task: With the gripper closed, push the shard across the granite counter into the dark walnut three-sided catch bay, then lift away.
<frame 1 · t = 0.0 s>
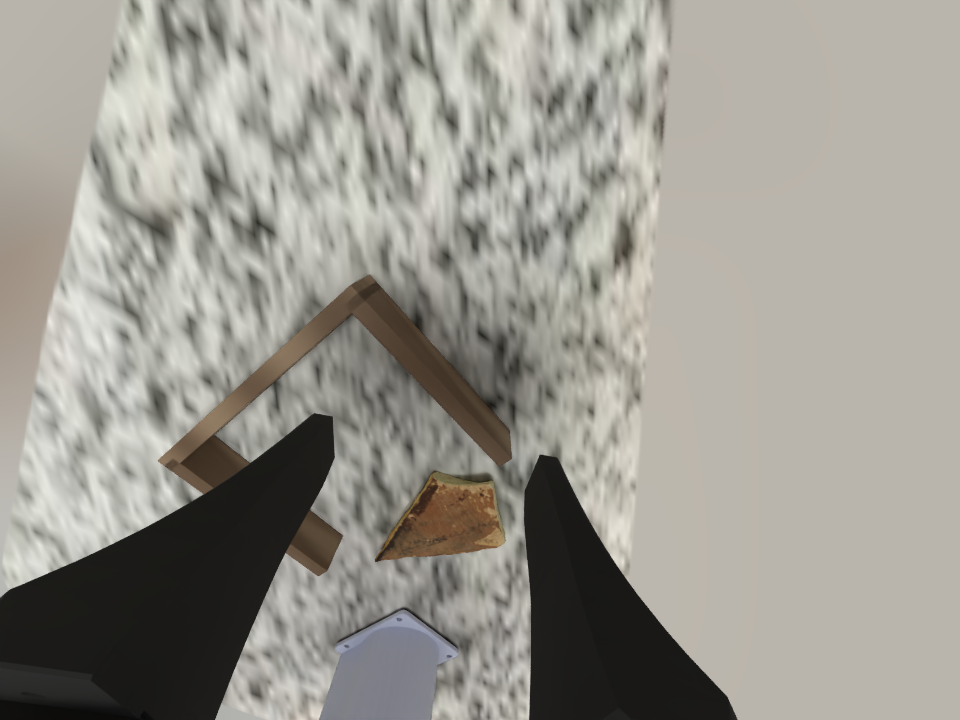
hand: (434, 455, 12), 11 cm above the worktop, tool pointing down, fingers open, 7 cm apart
shard: (453, 518, 29), on the worktop
catch bay: (351, 434, 25), on the worktop
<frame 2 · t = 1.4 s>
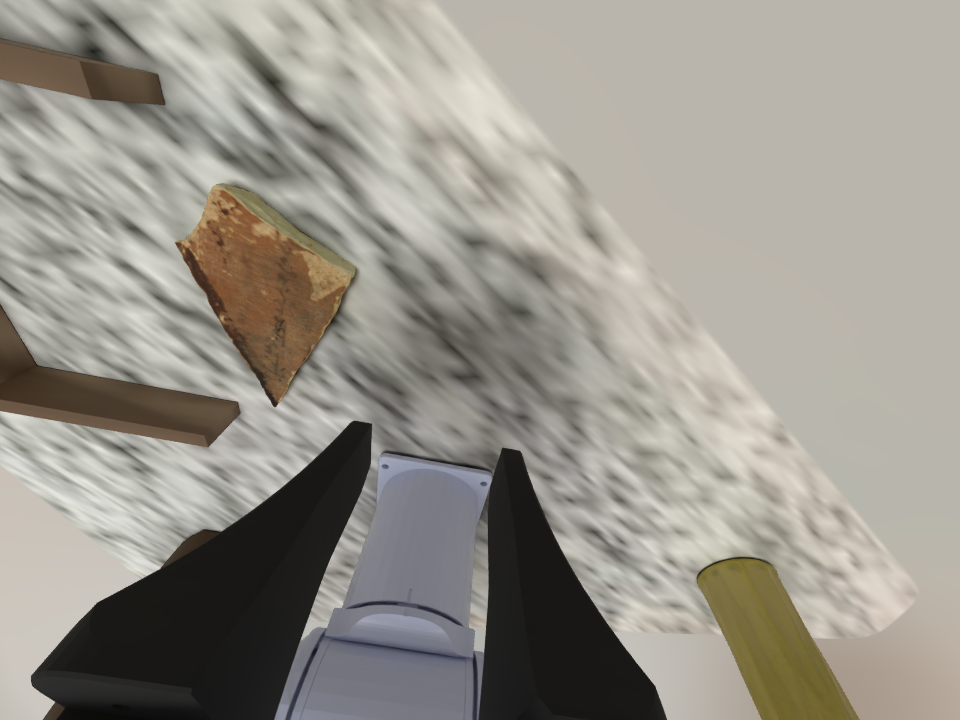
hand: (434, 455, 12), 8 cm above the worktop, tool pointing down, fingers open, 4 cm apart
shard: (302, 299, 20), on the worktop
olive green rod: (732, 573, 31), on the worktop
beer bottle: (229, 549, 34), on the worktop
catch bay: (81, 262, 18), on the worktop
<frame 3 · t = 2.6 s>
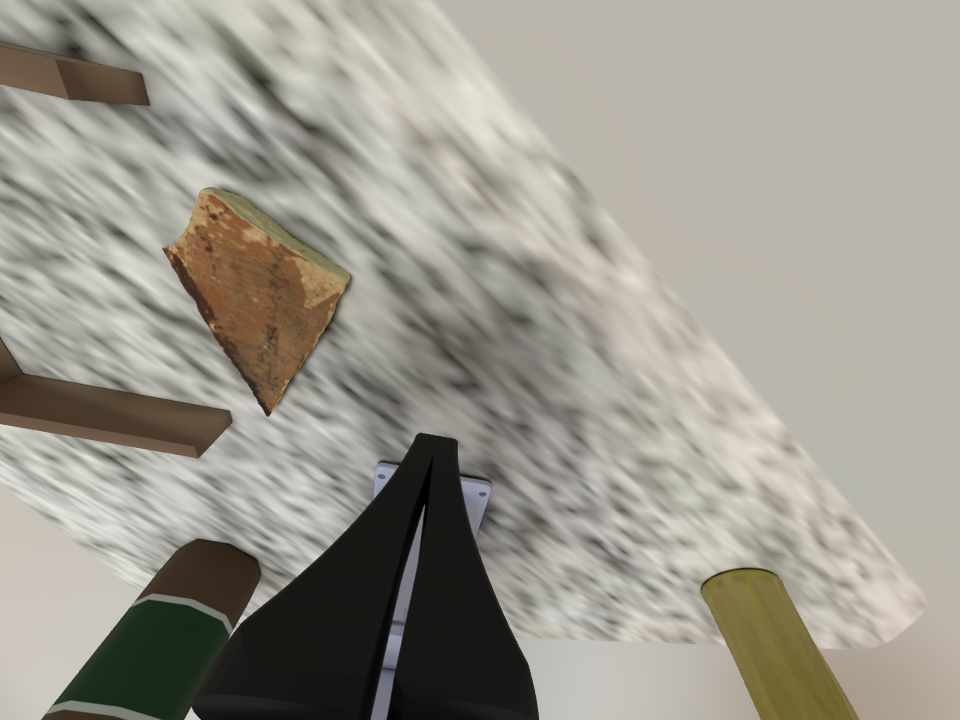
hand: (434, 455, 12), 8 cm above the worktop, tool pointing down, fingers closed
shard: (295, 306, 19), on the worktop
olive green rod: (737, 584, 30), on the worktop
beer bottle: (223, 559, 33), on the worktop
catch bay: (66, 268, 18), on the worktop
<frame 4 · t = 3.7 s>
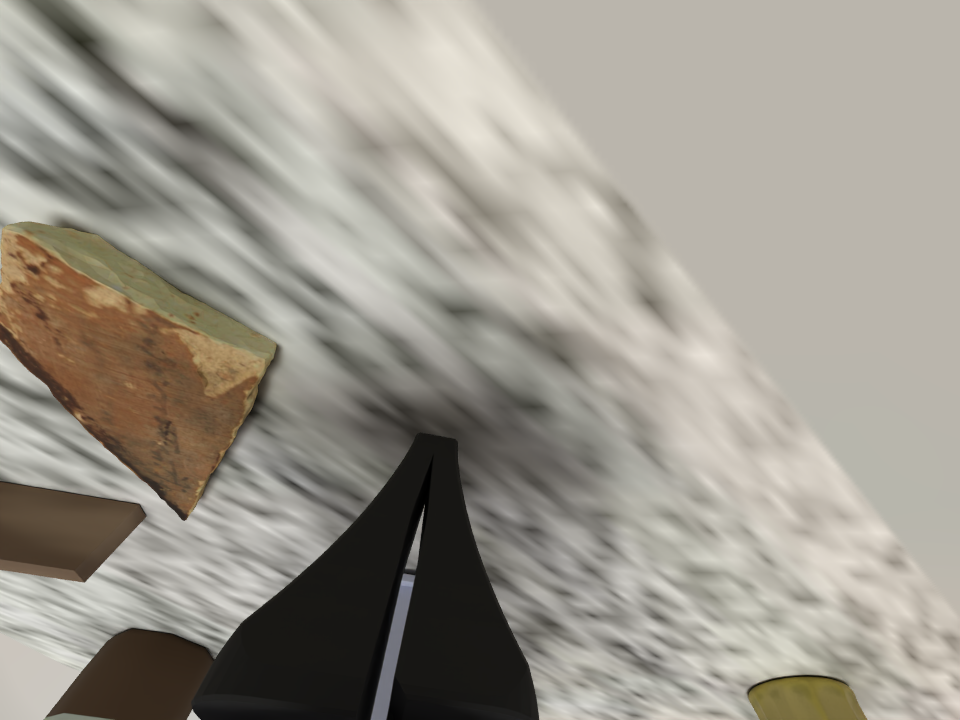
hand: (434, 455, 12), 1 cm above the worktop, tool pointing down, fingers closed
shard: (208, 380, 13), on the worktop
olive green rod: (793, 687, 24), on the worktop
beer bottle: (168, 645, 28), on the worktop
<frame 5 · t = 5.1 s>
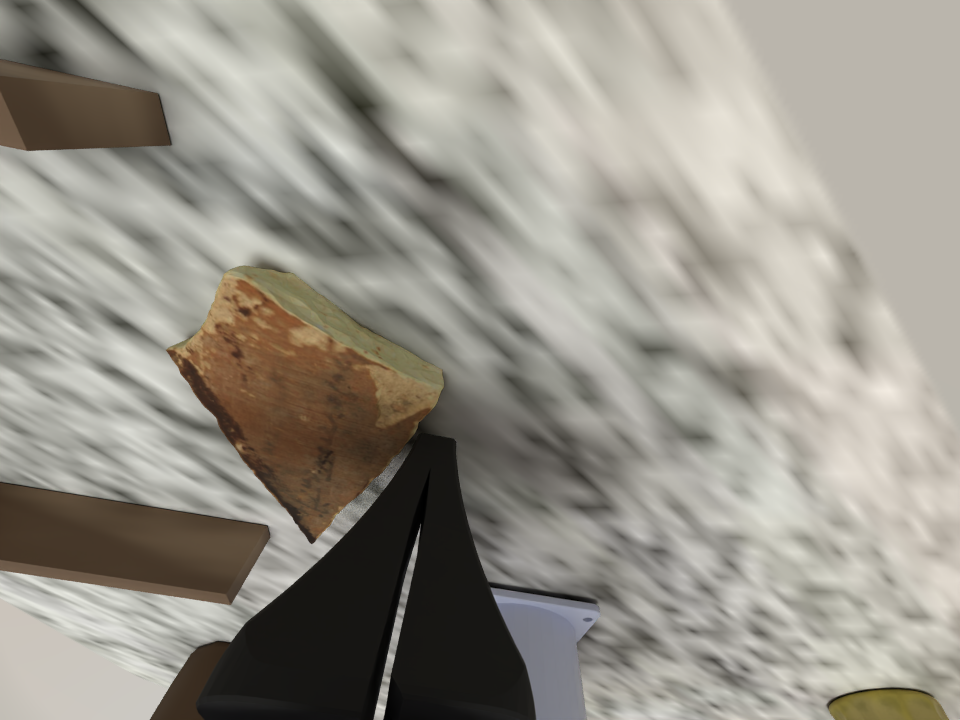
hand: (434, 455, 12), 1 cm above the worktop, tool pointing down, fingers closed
shard: (353, 408, 13), on the worktop, touching gripper
olive green rod: (875, 699, 25), on the worktop
beer bottle: (247, 657, 28), on the worktop
catch bay: (47, 367, 12), on the worktop
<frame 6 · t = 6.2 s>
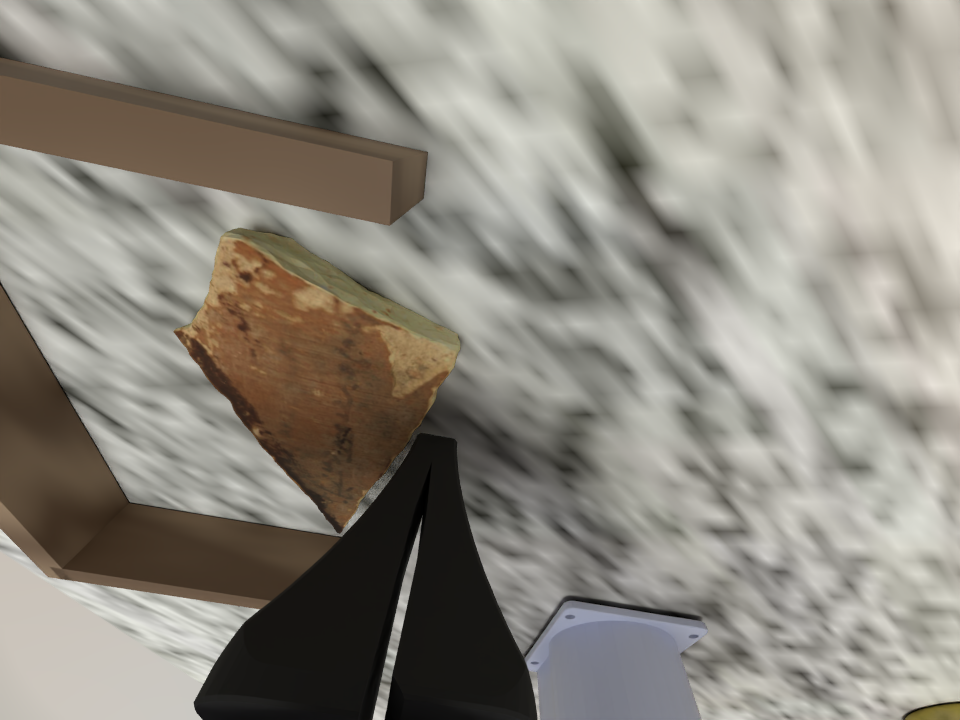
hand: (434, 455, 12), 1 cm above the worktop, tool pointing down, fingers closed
shard: (369, 385, 13), on the worktop, touching gripper
olive green rod: (952, 711, 25), on the worktop
catch bay: (222, 397, 13), on the worktop
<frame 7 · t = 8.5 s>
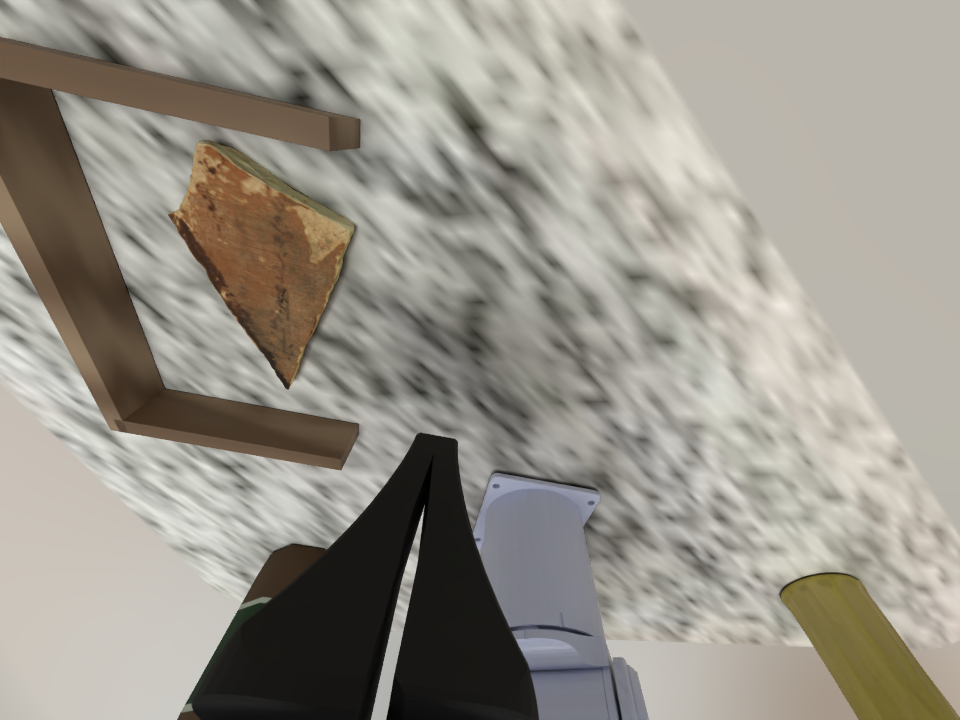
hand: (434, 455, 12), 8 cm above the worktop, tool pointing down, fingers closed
shard: (304, 269, 19), on the worktop
olive green rod: (816, 587, 31), on the worktop
beer bottle: (312, 562, 34), on the worktop
catch bay: (236, 293, 19), on the worktop
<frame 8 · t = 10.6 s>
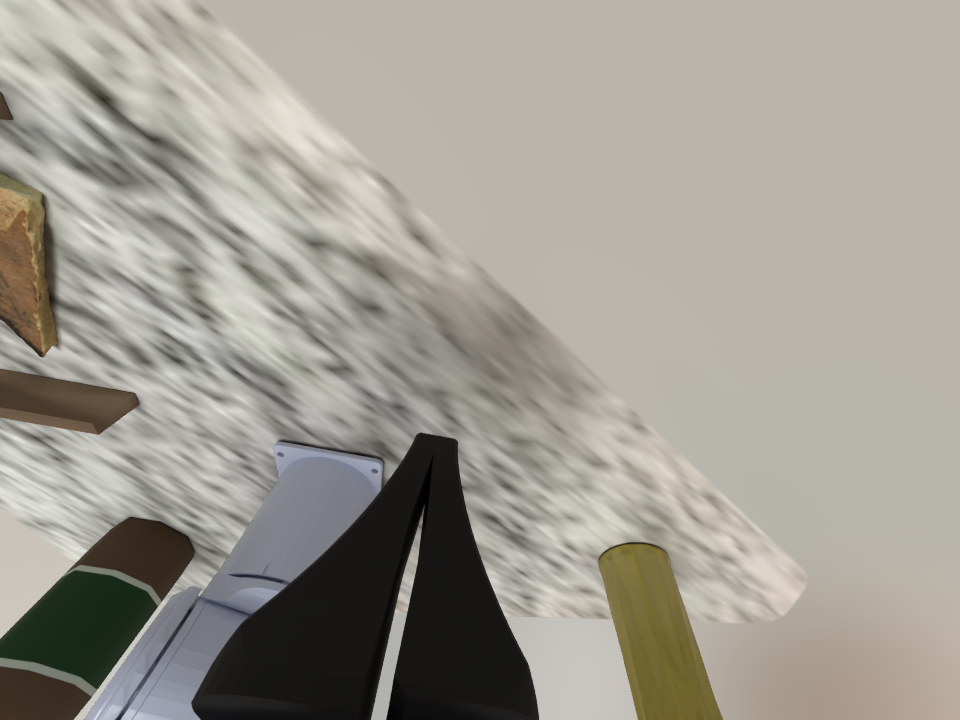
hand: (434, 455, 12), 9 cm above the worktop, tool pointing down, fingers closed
shard: (28, 240, 20), on the worktop
olive green rod: (631, 558, 32), on the worktop
beer bottle: (158, 537, 35), on the worktop
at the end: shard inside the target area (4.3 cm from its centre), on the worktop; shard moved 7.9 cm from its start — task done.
